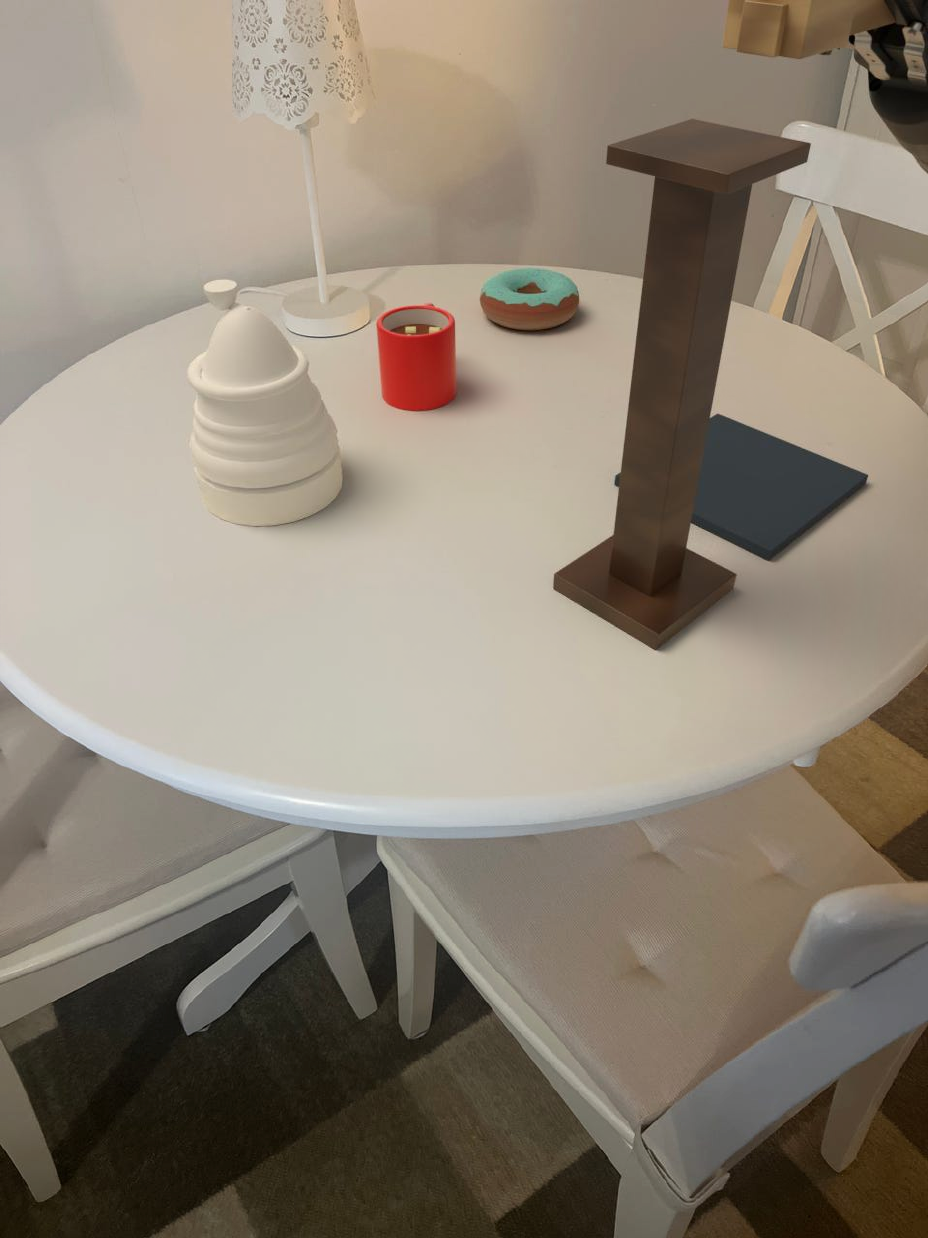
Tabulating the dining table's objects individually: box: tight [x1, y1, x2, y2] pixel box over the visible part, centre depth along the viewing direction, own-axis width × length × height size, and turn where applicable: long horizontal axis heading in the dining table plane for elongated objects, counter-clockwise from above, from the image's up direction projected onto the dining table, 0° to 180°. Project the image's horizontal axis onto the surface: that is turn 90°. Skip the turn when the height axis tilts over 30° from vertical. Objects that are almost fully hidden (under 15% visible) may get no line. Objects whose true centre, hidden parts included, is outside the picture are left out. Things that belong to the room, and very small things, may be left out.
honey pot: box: [186, 279, 344, 527], centre depth 78 cm, size 13×13×18 cm
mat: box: [613, 413, 869, 562], centre depth 83 cm, size 16×16×1 cm
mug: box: [375, 302, 457, 412], centre depth 96 cm, size 8×12×8 cm, turn 172°
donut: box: [479, 267, 580, 331], centre depth 111 cm, size 12×12×4 cm
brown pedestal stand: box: [552, 118, 812, 651], centre depth 62 cm, size 10×10×32 cm
